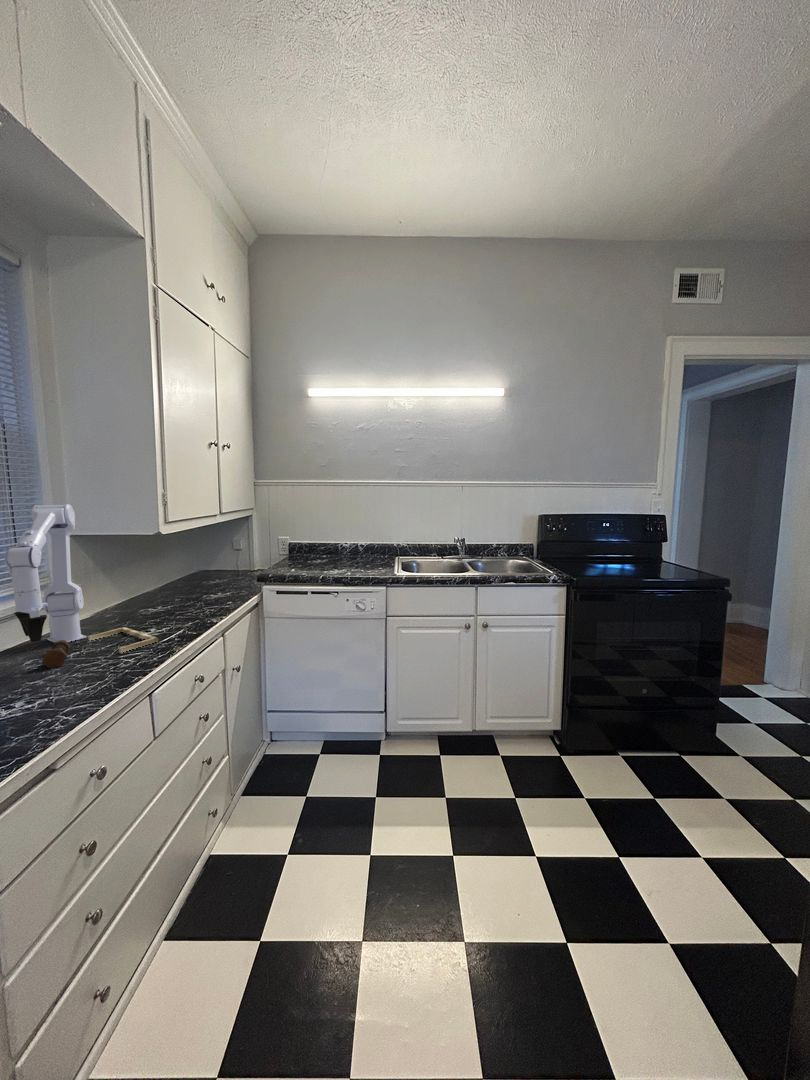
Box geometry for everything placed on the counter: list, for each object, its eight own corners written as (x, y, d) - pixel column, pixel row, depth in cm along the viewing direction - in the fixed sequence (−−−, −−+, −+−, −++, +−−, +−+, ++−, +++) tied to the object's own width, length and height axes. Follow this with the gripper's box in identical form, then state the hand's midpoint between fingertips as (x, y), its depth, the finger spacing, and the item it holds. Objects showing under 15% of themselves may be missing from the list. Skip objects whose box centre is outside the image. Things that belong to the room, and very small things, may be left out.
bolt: (67, 656, 145) (59, 671, 132) (48, 651, 143) (38, 666, 130) (76, 638, 146) (69, 651, 133) (58, 633, 144) (49, 646, 131)
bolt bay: (88, 640, 153) (87, 636, 153) (124, 631, 162) (124, 626, 162) (121, 653, 141) (120, 648, 141) (158, 642, 150) (157, 637, 150)
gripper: (51, 591, 128) (56, 639, 130) (39, 584, 138) (45, 629, 139) (17, 596, 123) (24, 646, 124) (8, 588, 132) (14, 635, 134)
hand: (33, 638), depth 132 cm, fingers open, 7 cm apart
